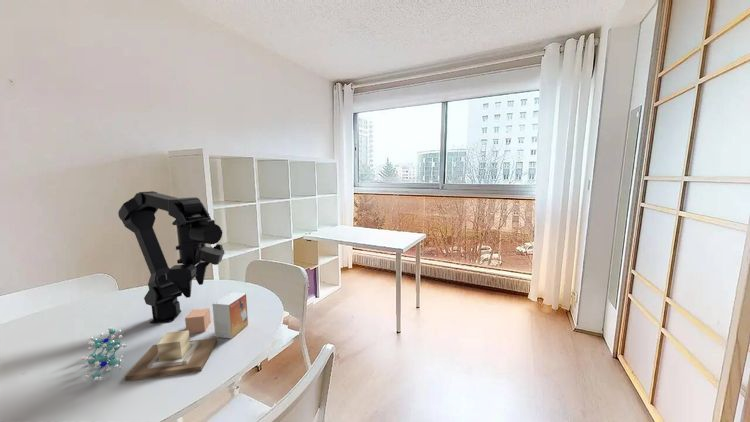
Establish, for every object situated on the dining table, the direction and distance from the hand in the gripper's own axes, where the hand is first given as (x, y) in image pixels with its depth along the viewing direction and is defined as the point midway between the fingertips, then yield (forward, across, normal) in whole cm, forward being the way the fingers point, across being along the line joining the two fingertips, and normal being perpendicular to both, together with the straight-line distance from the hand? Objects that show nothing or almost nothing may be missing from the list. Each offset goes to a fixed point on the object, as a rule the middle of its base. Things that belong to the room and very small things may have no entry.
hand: (194, 290), depth 85 cm
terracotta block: (+12, 0, 0) cm, 12 cm away
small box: (+12, -4, -11) cm, 17 cm away
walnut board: (+12, -15, 0) cm, 19 cm away
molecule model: (+13, -13, +16) cm, 24 cm away
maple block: (+11, -15, 0) cm, 18 cm away
